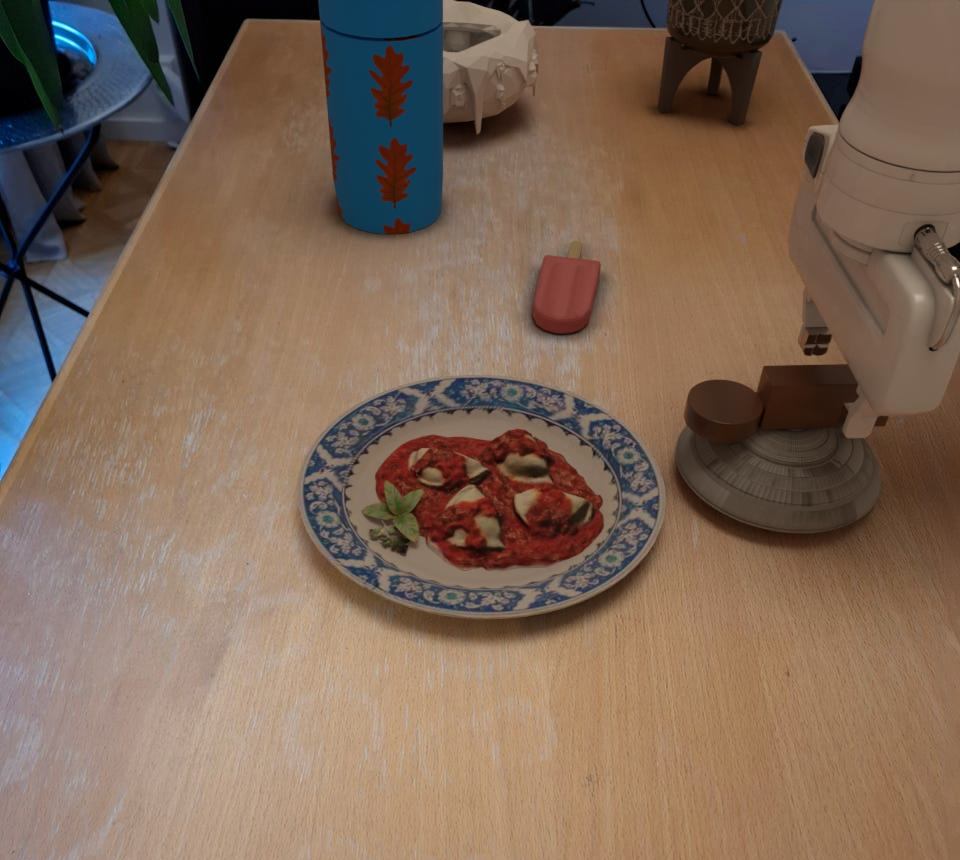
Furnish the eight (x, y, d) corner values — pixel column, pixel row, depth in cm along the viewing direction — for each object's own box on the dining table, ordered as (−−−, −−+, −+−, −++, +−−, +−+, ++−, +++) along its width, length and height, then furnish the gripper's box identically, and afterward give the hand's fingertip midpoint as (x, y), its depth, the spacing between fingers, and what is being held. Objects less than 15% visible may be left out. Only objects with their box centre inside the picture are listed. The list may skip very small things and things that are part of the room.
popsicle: (605, 238, 94) (589, 322, 85) (603, 253, 95) (587, 338, 86) (550, 231, 95) (527, 314, 85) (548, 247, 96) (526, 331, 86)
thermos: (344, 239, 96) (319, -70, 77) (328, 189, 103) (302, -106, 84) (453, 229, 98) (456, -74, 79) (431, 181, 105) (429, -110, 86)
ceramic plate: (600, 382, 82) (605, 350, 79) (714, 609, 65) (724, 577, 63) (285, 415, 77) (280, 383, 75) (322, 666, 61) (317, 635, 59)
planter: (663, 80, 124) (690, -91, 111) (766, 97, 122) (806, -76, 108) (639, 119, 116) (665, -60, 103) (748, 138, 114) (789, -43, 100)
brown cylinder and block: (867, 394, 72) (884, 351, 69) (892, 439, 69) (910, 395, 66) (676, 398, 71) (686, 355, 68) (692, 444, 68) (702, 400, 65)
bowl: (321, 115, 115) (313, 17, 107) (440, 67, 125) (439, -25, 118) (456, 171, 106) (457, 69, 99) (571, 115, 117) (580, 19, 109)
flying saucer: (809, 404, 80) (829, 344, 76) (916, 525, 71) (945, 465, 67) (640, 435, 77) (651, 375, 73) (728, 566, 68) (747, 505, 64)
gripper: (1029, 281, 51) (930, 486, 62) (893, 117, 65) (831, 309, 75) (911, 283, 51) (831, 489, 61) (799, 118, 64) (749, 311, 75)
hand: (830, 389), depth 68 cm, fingers open, 8 cm apart
